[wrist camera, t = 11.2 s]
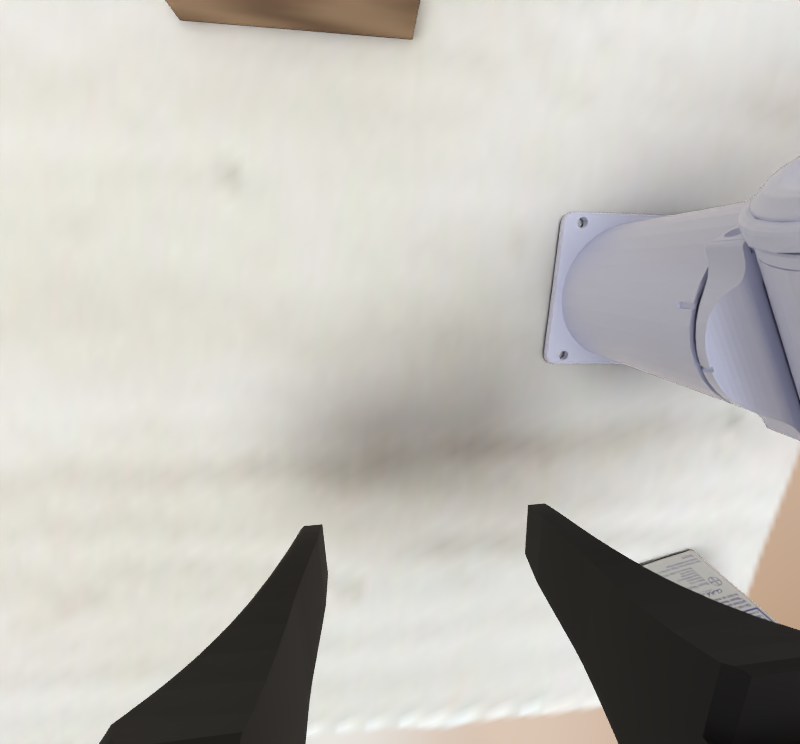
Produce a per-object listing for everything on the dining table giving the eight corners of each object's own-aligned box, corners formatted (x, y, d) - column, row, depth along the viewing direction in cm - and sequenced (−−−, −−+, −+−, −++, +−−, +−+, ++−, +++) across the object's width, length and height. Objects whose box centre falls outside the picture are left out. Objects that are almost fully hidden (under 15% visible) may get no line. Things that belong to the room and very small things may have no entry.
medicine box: (632, 564, 26) (756, 700, 18) (691, 546, 26) (842, 674, 18) (640, 643, 28) (755, 798, 20) (695, 627, 29) (832, 774, 20)
